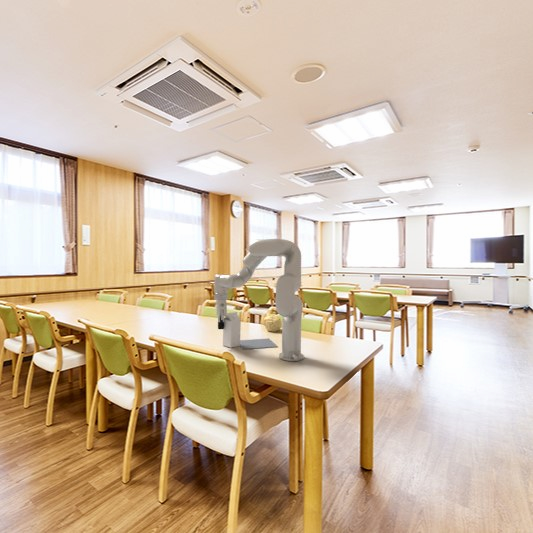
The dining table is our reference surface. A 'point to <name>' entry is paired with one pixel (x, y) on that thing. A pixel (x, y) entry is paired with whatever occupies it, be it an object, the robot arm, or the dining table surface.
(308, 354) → the dining table surface
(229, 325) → the milk carton
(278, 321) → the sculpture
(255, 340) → the back mat
